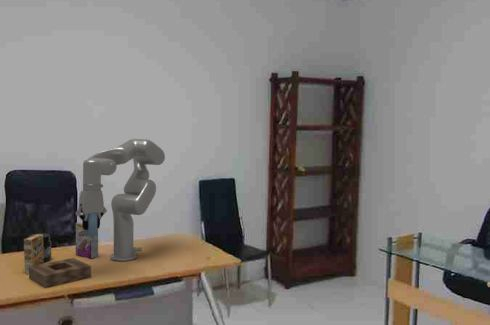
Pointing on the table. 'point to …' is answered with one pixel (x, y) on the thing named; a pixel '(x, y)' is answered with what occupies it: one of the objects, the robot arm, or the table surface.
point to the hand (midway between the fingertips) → (91, 228)
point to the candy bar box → (85, 243)
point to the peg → (91, 225)
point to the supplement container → (46, 246)
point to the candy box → (33, 251)
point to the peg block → (59, 272)
